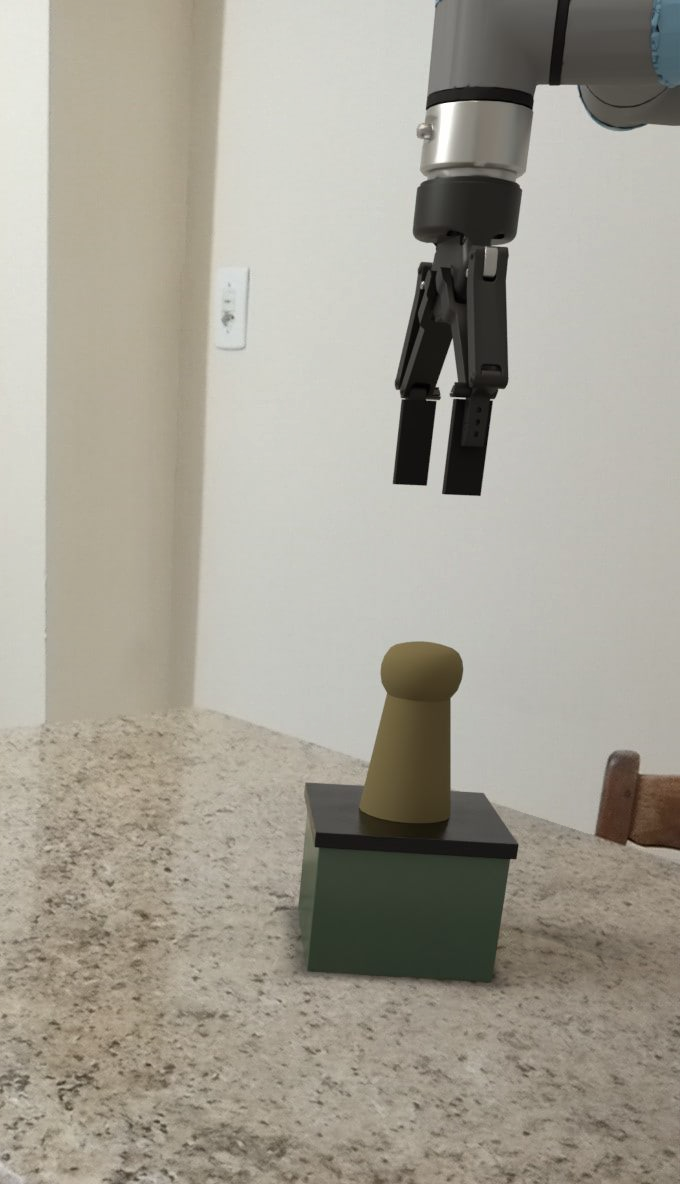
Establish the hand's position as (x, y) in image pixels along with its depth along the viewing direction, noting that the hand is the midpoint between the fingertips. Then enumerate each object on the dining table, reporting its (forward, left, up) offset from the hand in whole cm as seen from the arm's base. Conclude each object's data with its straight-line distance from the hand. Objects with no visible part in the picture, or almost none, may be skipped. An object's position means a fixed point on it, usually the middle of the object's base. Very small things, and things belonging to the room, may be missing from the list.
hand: (433, 490), depth 107 cm
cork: (+3, +25, -19) cm, 32 cm away
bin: (+3, +25, -29) cm, 38 cm away
